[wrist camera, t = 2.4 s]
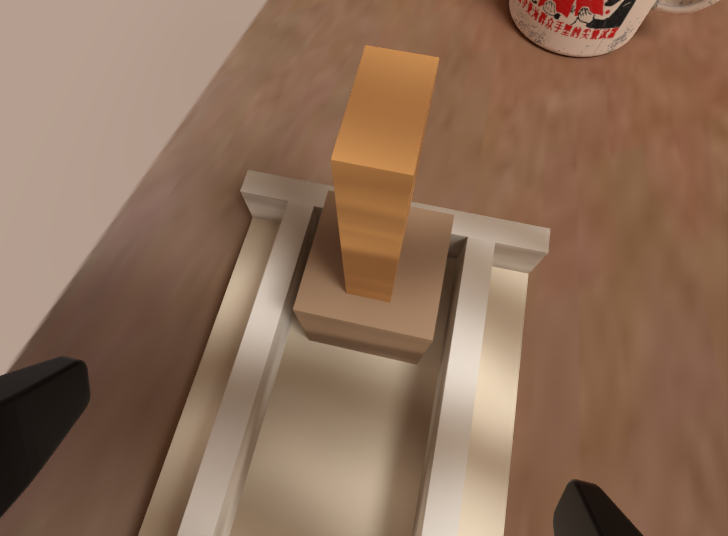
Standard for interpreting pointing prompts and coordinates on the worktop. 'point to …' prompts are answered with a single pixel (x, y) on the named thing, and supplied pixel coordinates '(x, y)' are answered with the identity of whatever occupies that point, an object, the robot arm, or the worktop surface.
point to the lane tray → (349, 396)
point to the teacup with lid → (590, 22)
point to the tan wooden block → (378, 220)
